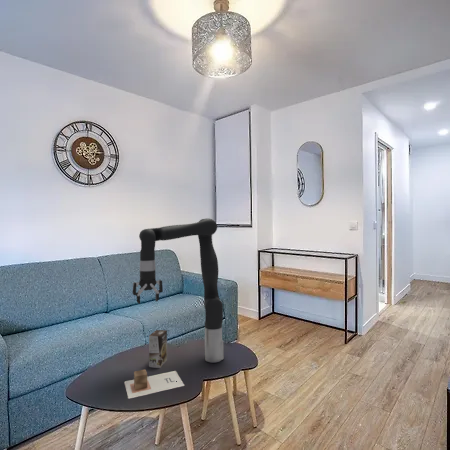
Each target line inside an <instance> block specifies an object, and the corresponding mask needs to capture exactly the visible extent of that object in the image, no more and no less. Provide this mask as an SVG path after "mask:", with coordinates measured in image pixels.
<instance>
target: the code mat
mask: <svg viewBox="0 0 450 450" xmlns="http://www.w3.org/2000/svg"><path fill="white" fill-rule="evenodd" d="M176 381H177V382H176ZM124 386H125V390H126V393H127V399H133V398H137V397H142V396H147V395H151V394H155V393H158V392H159V393H160V392H163V391H167V390H171V389H176V388H181V387H184V386H185V384H184V382H183V381H182V378H181V377H180V376H179V374H178V372H177V370H174V371H168V372H163V373H159V374H154V375H149V376H148V375H147V388H145V389H140V390H135V387H134V379H129V380H126V381H124Z"/></svg>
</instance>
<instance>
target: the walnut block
mask: <svg viewBox="0 0 450 450" xmlns="http://www.w3.org/2000/svg"><path fill="white" fill-rule="evenodd" d="M147 377H148V372H147V370H146V369H141V370H140V369H139V370H135V371H133V380H134V387H135V390H140V389H145V388H147Z"/></svg>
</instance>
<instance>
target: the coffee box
mask: <svg viewBox="0 0 450 450" xmlns="http://www.w3.org/2000/svg"><path fill="white" fill-rule="evenodd" d="M167 361H168V330H165V329H155V330H154V331H153V332H152V333H151V334H149V336H148V367H149V368H155V369H161V368H162V366H163V365H164V364H166V362H167Z"/></svg>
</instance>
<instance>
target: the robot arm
mask: <svg viewBox="0 0 450 450" xmlns="http://www.w3.org/2000/svg"><path fill="white" fill-rule="evenodd" d="M217 230H218V224H217V222H216V221H215V220H214V219H212V218H210V217H209V218H208V217H207V218H201V219H199V221H198V222H193V223H192V222H191V223H186V224H174V225H173V224H172V225H166V226H160V227H152V228H144V229H142V230H141V231H140V232H139V240H140V247H141V248H140V251H139V258H140V259H139V260H140V261H139V282H135V281H133V283H132V295H133V296H136V304H137V303H138V304H140V305H141V296H140V295H141V294H142V293H143V292H144V291H146V292H147V291H152V290H153V291H154V292H155V297H154V298H155V302H159V300H160V293H163V291H164V289H163V280H161V279H158V280H156V278H157V277H156V273H157V272H156V268H157V266H156V259H155V258H156V257H155V256H156V255H155V254H156V252H155V249H156V242H160V241H170V240H176V239H177V240H178V239H181V238H186V237H192V236H197V238H198V242H199V243H198V244H199V257H200V271H201V277H202V278H201V279H202V282H203V283H202V284H203V287H204V288H203V290H204V291H203V293H204V294H203V295H204V297H203V306H204V308H205V316H204V317H205V321H204V360H205V361H206V362H208V363H211V364H212V363H214V364H215V363H219V362H221V361H222V360H224V358H225V357H224V340H223V317H224V305H223V301H222V300H221V299H220V295H219V289H218V288H219V287H218V281H219V261H218V257H217V254H216V251H215V248H214V244H213V235H214V234H215V233H216V232H217ZM156 285H158V289H157V288H156ZM138 286H140V287H139V289H138V291H137V288H138Z"/></svg>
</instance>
